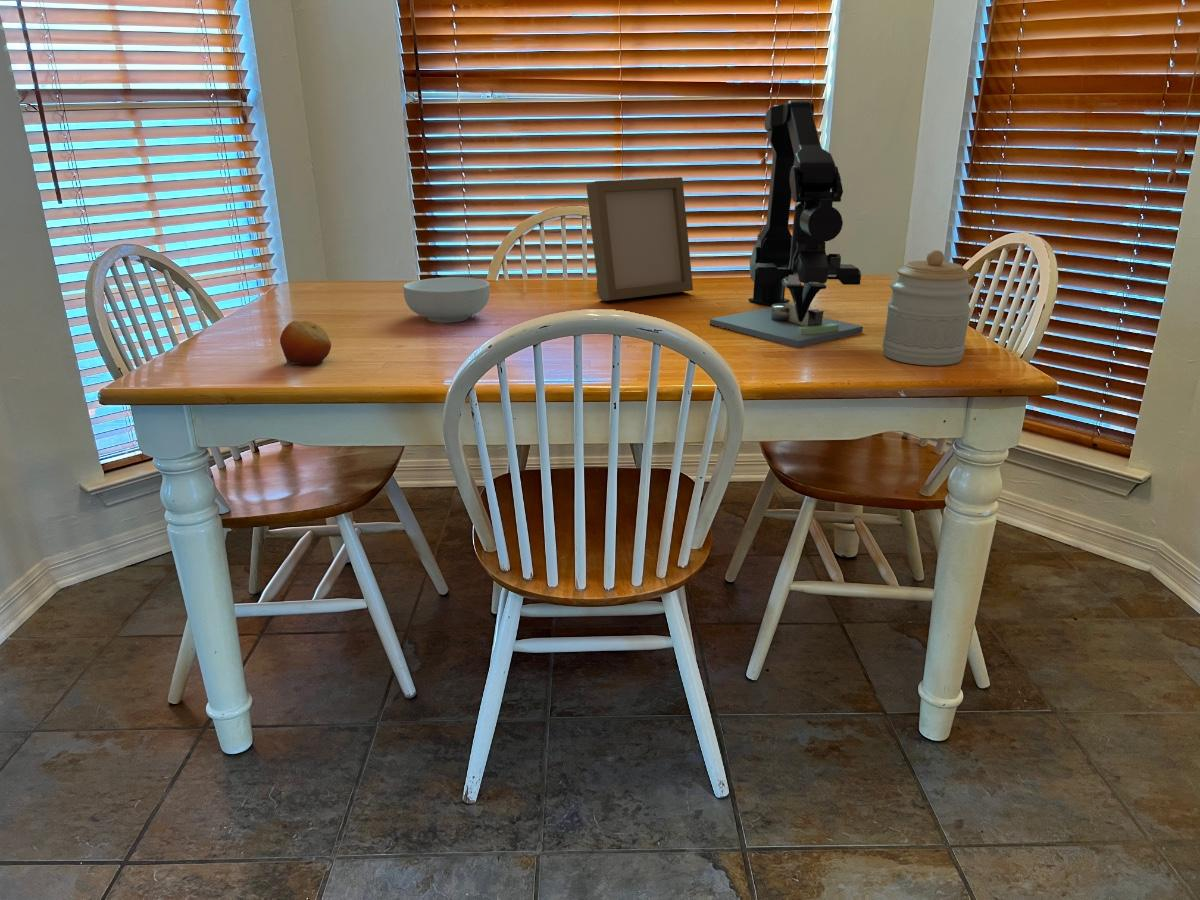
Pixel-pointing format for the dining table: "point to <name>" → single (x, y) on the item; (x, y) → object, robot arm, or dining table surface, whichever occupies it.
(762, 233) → the robot arm
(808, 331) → the board
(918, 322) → the jar
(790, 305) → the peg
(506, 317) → the dining table surface
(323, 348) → the fruit
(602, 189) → the photo frame
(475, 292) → the cereal bowl
